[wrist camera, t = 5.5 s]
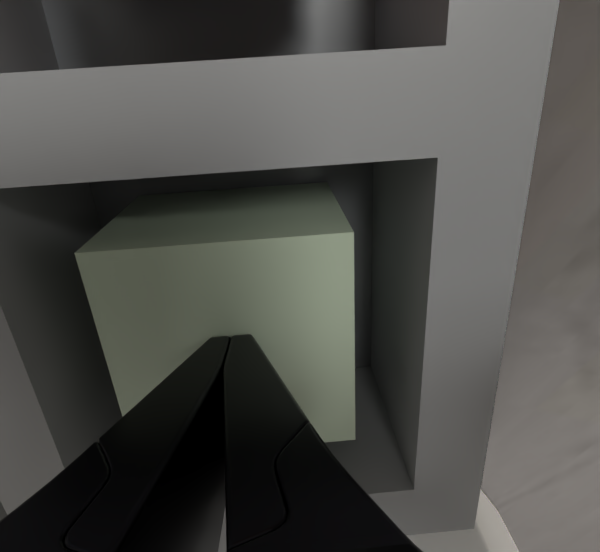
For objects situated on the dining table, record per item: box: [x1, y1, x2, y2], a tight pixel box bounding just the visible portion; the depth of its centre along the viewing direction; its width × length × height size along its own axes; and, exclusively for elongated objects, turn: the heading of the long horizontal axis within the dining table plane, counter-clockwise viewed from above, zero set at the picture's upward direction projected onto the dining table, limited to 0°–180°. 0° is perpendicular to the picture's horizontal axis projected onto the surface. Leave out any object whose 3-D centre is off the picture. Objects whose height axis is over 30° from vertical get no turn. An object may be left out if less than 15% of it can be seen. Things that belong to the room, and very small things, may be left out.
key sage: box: [74, 182, 355, 442], centre depth 11 cm, size 5×5×4 cm
